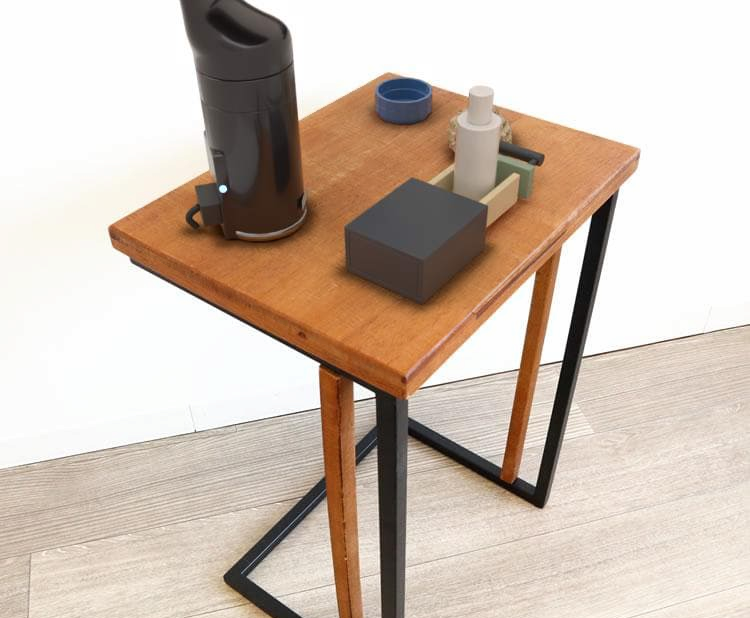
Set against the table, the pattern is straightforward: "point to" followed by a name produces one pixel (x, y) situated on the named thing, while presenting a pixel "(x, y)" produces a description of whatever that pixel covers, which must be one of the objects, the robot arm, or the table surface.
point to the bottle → (477, 146)
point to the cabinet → (415, 239)
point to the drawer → (503, 178)
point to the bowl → (403, 100)
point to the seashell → (504, 134)
